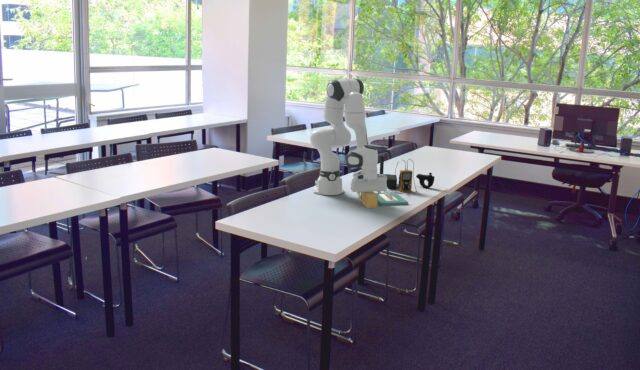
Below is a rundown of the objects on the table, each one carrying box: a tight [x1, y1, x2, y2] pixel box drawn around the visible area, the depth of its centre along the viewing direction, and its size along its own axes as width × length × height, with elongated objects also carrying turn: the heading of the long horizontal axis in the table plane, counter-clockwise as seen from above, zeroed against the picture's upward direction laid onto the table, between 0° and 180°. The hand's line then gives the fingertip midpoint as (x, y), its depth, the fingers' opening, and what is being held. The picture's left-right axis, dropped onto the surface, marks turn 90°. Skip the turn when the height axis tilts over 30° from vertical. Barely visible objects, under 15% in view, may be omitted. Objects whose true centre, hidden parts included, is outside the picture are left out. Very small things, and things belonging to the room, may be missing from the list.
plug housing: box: [359, 191, 378, 209], centre depth 322 cm, size 14×6×7 cm, turn 13°
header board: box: [375, 188, 409, 207], centre depth 332 cm, size 22×16×6 cm
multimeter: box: [394, 158, 417, 195], centre depth 347 cm, size 15×10×20 cm
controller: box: [416, 172, 435, 189], centre depth 362 cm, size 4×12×10 cm, turn 48°
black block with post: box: [377, 154, 398, 190], centre depth 364 cm, size 19×17×20 cm
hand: (368, 198), depth 321 cm, fingers open, 8 cm apart
